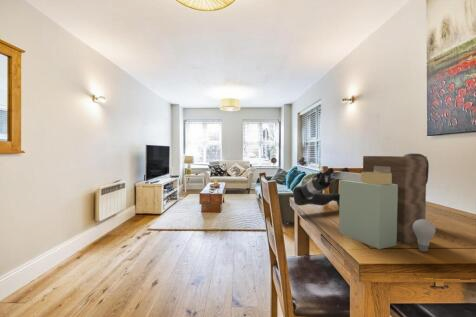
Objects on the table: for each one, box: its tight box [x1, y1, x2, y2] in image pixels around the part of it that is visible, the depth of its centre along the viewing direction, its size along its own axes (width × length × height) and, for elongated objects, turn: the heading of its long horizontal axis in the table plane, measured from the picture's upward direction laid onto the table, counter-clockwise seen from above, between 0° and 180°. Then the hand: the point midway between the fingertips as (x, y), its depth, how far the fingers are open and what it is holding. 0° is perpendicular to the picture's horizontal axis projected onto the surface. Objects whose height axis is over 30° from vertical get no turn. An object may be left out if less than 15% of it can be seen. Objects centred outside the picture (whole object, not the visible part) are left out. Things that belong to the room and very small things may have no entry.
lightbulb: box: [412, 219, 436, 253], centre depth 80 cm, size 6×6×11 cm
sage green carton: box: [338, 179, 398, 250], centre depth 92 cm, size 9×18×22 cm, turn 22°
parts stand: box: [362, 155, 428, 245], centre depth 97 cm, size 12×18×32 cm
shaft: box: [331, 170, 392, 185], centre depth 96 cm, size 6×25×4 cm, turn 22°
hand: (340, 169), depth 104 cm, fingers open, 8 cm apart
